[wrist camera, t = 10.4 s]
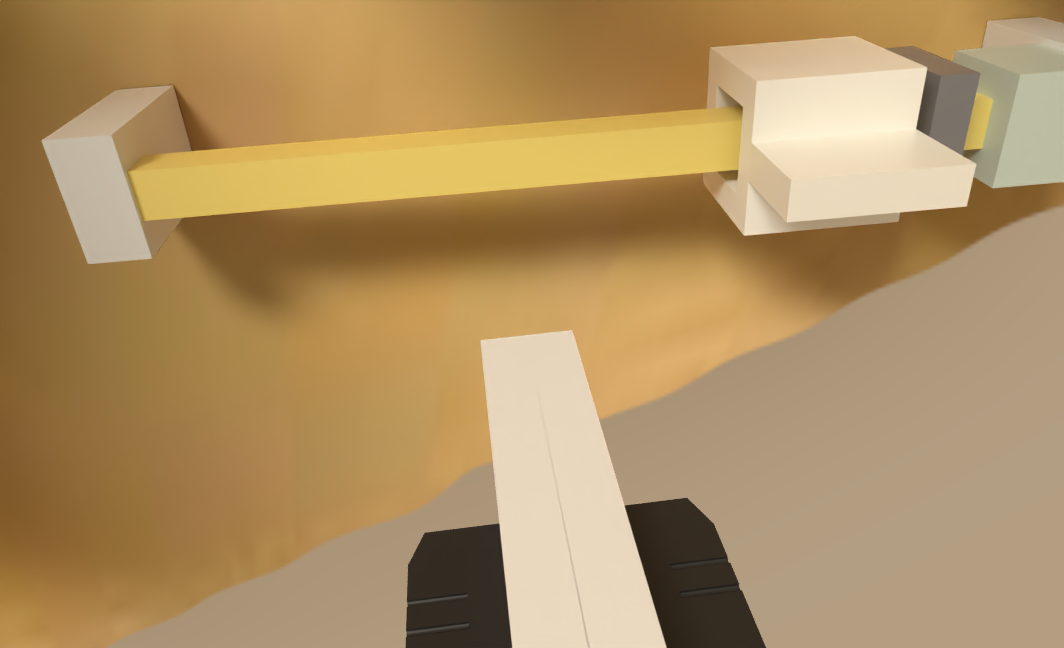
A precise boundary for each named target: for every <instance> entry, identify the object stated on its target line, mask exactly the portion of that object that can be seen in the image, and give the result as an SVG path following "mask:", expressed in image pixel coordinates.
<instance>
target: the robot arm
mask: <svg viewBox="0 0 1064 648" xmlns="http://www.w3.org/2000/svg"><path fill="white" fill-rule="evenodd" d="M480 341H481V351H482V361H483V370H484V380H485V389H486V399H487V409H488V418H489V428H490V438H491V447H492V457H493V466H494V476H495V485H496V495H497V505H498V515H499V524H493V525H484V526H477V527H468V528H460V529H453V530H444V531H436V532H428V533H425V534H424V535H423V537H422V539H421V541H420V543H419V545H418V547H417V549H416V551H415V553H414V555H413V557H412V559H411V561H410V563H409V564H408V588H407V603H408V607H407V622H406V631H407V637H406V648H766V647H765V645H764V642H763V640H762V637H761V635H760V633H759V630H758V628H757V626H756V624H755V621H754V618H753V616H752V614H751V611H750V609H749V606H748V604H747V602H746V599H745V597H744V594H743V592H742V591H741V590H740V588H739V583H738V580H737V578H736V575H735V573H734V571H733V568H732V566H731V564H730V563H729V562H728V558H727V554H726V552H725V550H724V547H723V545H722V542H721V540H720V538H719V535H718V533H717V531H716V528H715V526H714V524H713V523H712V522H711V521H710V520H709V519H708V518H707V517H706V516H705V515H704V514H703V513H702V512H701V511H700V510H699V509H698V508H697V507H696V506H695V505H694V504H693V503H692V502H690V501H689V500H688V498H682V499H674V500H666V501H658V502H651V503H642V504H634V505H626V506H624V503H623V500H622V496H621V493H620V489H619V486H618V483H617V479H616V476H615V472H614V469H613V466H612V462H611V459H610V456H609V452H608V449H607V446H606V442H605V439H604V435H603V432H602V429H601V426H600V422H599V419H598V415H597V412H596V408H595V405H594V402H593V398H592V395H591V392H590V388H589V385H588V382H587V378H586V375H585V371H584V368H583V365H582V361H581V358H580V355H579V351H578V348H577V344H576V341H575V338H574V334H573V331H572V330H569V331H560V332H551V333H542V334H533V335H524V336H515V337H506V338H497V339H487V340H480Z"/></svg>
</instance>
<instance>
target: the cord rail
mask: <svg viewBox="0 0 1064 648" xmlns="http://www.w3.org/2000/svg"><path fill="white" fill-rule="evenodd" d="M884 49H886V50H889V51H891V52H893V53H896V54H898V55H900V56H902V57H905V58H907V59H909V60H912V61H914V62H916V63H919V64H921V65H923V66H926V67H927V73H926V78H925V83H924V89H923V94H922V99H921V105H920V110H919V115H918V121H917V126H916V129H917V130H919V131H920V132H922V133H924V134H926V135H927V136H929V137H931V138H932V139H934V140H936V141H938V142H939V143H941V144H943V145H945V146H946V147H948V148H950V149H951V150H953V151H955V152H957V153H958V154H960V155H962V156H964V157H965V158H967V159H969V160H971V161H972V162H974V163H976V168H975V173H974V177H975V178H976V179H978V180H979V181H981V182H983V183H984V184H986V185H988V186H989V187H991V188H1002V187H1014V186H1025V185H1036V184H1047V183H1059V182H1064V23H1061V22H1057V21H1053V20H1050V19H1046V18H1042V17H1031V18H1018V19H1005V20H993V21H988V22H987V27H986V31H985V36H984V41H983V45H982V48H976V49H964V50H955V54H954V59H953V62H952V61H949V60H947V59H944V58H942V57H939V56H937V55H934V54H932V53H929V52H927V51H924V50H922V49H919V48H917V47H914V46H908V47H896V48H884ZM742 116H743V106H732V107H720V108H708V109H696V110H684V111H672V112H660V113H648V114H636V115H623V116H611V117H599V118H587V119H575V120H563V121H551V122H539V123H527V124H515V125H503V126H491V127H478V128H466V129H454V130H442V131H430V132H418V133H406V134H394V135H382V136H370V137H358V138H345V139H333V140H321V141H309V142H297V143H285V144H273V145H261V146H249V147H237V148H225V149H213V150H200V151H192V150H191V146H190V143H189V139H188V136H187V132H186V129H185V125H184V121H183V118H182V114H181V111H180V107H179V104H178V100H177V97H176V93H175V90H174V86H173V85H170V86H157V87H145V88H132V89H119V90H115V91H114V92H112V93H111V94H109V95H108V96H106V97H105V98H103V99H102V100H100V101H99V102H97V103H96V104H94V105H93V106H92V107H90V108H89V109H87V110H86V111H84V112H83V113H81V114H80V115H78V116H77V117H75V118H74V119H72V120H71V121H69V122H68V123H66V124H65V125H64V126H62V127H61V128H59V129H58V130H56V131H55V132H53V133H52V134H50V135H49V136H47V137H46V138H44V139H43V140H41V141H42V144H43V147H44V149H45V152H46V155H47V157H48V160H49V163H50V165H51V168H52V170H53V173H54V176H55V178H56V181H57V184H58V186H59V189H60V192H61V194H62V197H63V200H64V202H65V205H66V208H67V210H68V213H69V215H70V218H71V221H72V223H73V226H74V229H75V231H76V234H77V237H78V239H79V242H80V245H81V247H82V250H83V252H84V255H85V258H86V260H87V263H88V264H96V263H108V262H119V261H130V260H141V259H152V258H153V257H154V255H155V254H156V253H157V252H158V250H159V249H160V248H161V246H162V245H163V244H164V242H165V241H166V240H167V238H168V237H169V236H170V234H171V233H172V232H173V230H174V229H175V228H176V226H177V225H178V224H179V222H180V221H181V220H182V218H184V217H196V216H207V215H219V214H231V213H242V212H254V211H265V210H277V209H288V208H300V207H312V206H323V205H335V204H346V203H358V202H370V201H381V200H393V199H404V198H416V197H427V196H439V195H451V194H462V193H474V192H485V191H497V190H508V189H520V188H532V187H543V186H555V185H566V184H578V183H589V182H601V181H613V180H624V179H636V178H647V177H659V176H671V175H682V174H694V173H705V172H717V171H728V170H738V168H739V155H740V142H741V129H742Z"/></svg>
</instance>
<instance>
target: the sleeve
mask: <svg viewBox="0 0 1064 648" xmlns="http://www.w3.org/2000/svg"><path fill="white" fill-rule="evenodd" d="M926 73H927V67H926V66H923V65H921V64H919V63H916V62H914V61H912V60H909V59H907V58H905V57H902V56H900V55H898V54H896V53H893V52H891V51H889V50H886V49H884V48H882V47H879V46H877V45H875V44H872V43H870V42H868V41H866V40H863V39H861V38H859V37H856V36H847V37H835V38H822V39H809V40H797V41H784V42H772V43H759V44H746V45H734V46H721V47H710V56H709V75H708V94H707V109H708V108H720V107H732V106H743V116H742V129H741V142H740V155H739V168H738V170H728V171H717V172H705V173H703V184H704V185H705V186H706V188H707V189H708V190H709V191H710V193H711V194H712V195H713V197H714V198H715V199H716V200H717V202H718V203H719V204H720V206H721V207H722V208H723V209H724V211H725V212H726V213H727V215H728V216H729V217H730V218H731V220H732V221H733V222H734V224H735V225H736V226H737V227H738V229H739V230H740V231H741V233H742V234H743V235H744V236H747V235H758V234H769V233H780V232H791V231H802V230H813V229H824V228H836V227H847V226H858V225H869V224H880V223H891V222H899V216H900V212H910V211H921V210H932V209H943V208H955V207H966V206H967V203H968V199H969V194H970V190H971V186H972V181H973V177H974V173H975V168H976V163H974V162H972V161H971V160H969V159H967V158H965V157H964V156H962V155H960V154H958V153H957V152H955V151H953V150H951V149H950V148H948V147H946V146H945V145H943V144H941V143H939V142H938V141H936V140H934V139H932V138H931V137H929V136H927V135H926V134H924V133H922V132H920V131H919V130H917V129H916V126H917V121H918V115H919V110H920V105H921V99H922V94H923V89H924V83H925V78H926Z"/></svg>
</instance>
